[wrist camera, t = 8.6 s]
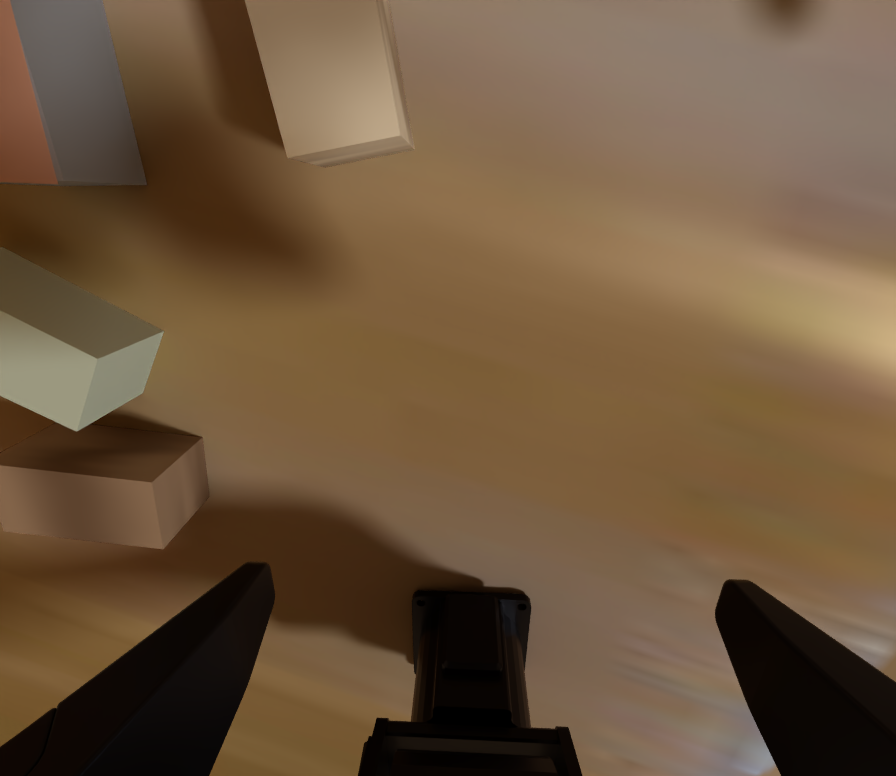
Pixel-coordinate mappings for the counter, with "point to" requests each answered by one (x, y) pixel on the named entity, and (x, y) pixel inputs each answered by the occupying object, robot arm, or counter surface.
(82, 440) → the walnut block
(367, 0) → the birch block
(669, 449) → the counter surface
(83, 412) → the sage block
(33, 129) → the terracotta block
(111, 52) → the slate block
